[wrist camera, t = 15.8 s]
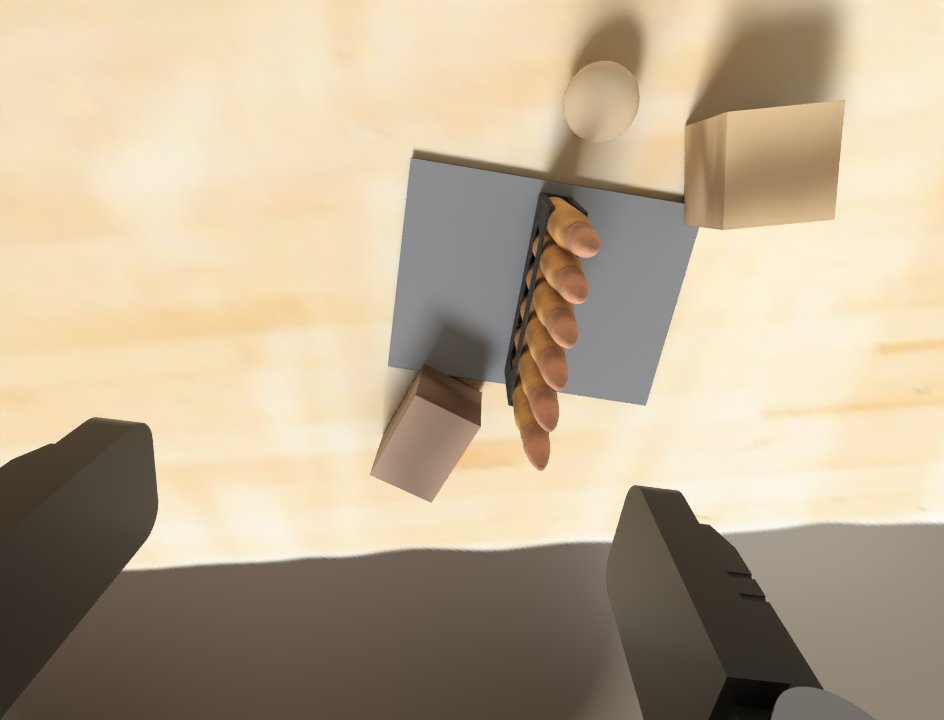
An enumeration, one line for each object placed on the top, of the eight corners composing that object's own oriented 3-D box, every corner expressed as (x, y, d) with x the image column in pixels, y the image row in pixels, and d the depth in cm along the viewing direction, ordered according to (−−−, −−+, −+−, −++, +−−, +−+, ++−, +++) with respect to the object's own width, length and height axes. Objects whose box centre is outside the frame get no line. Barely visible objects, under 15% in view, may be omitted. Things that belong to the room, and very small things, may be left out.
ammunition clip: (539, 191, 30) (572, 217, 19) (573, 197, 30) (626, 226, 19) (503, 373, 34) (513, 485, 22) (533, 377, 34) (558, 492, 22)
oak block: (685, 125, 29) (727, 111, 24) (782, 116, 29) (844, 99, 24) (683, 224, 30) (723, 229, 25) (776, 215, 30) (834, 219, 25)
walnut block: (382, 437, 36) (369, 474, 32) (423, 363, 33) (415, 395, 30) (437, 463, 36) (431, 502, 33) (481, 392, 34) (480, 426, 30)
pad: (411, 157, 30) (410, 157, 29) (702, 206, 30) (705, 207, 30) (388, 363, 34) (388, 365, 34) (643, 402, 35) (645, 405, 34)
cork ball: (567, 60, 28) (578, 48, 25) (637, 72, 28) (657, 62, 25) (552, 136, 29) (561, 135, 26) (619, 148, 29) (636, 148, 26)
